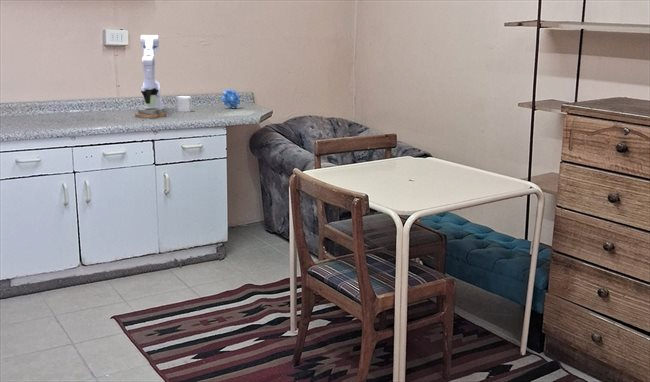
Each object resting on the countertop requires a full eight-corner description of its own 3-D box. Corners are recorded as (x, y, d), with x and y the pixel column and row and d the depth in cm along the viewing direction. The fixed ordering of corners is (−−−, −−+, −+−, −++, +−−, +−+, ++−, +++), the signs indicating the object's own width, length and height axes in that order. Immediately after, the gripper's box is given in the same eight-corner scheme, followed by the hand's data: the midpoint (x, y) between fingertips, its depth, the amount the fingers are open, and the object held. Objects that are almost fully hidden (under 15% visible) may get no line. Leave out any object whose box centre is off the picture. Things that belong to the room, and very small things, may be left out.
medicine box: (192, 111, 426) (191, 96, 424) (189, 112, 422) (189, 97, 420) (178, 110, 427) (178, 96, 425) (176, 111, 423) (176, 96, 421)
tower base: (149, 115, 409) (149, 111, 408) (166, 117, 404) (166, 113, 403) (135, 118, 399) (135, 113, 398) (152, 120, 393) (151, 115, 393)
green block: (149, 105, 402) (148, 94, 401) (156, 105, 401) (155, 94, 399) (144, 106, 398) (144, 95, 397) (151, 106, 397) (151, 95, 395)
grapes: (223, 109, 434) (223, 89, 431) (220, 108, 440) (220, 88, 437) (242, 108, 438) (242, 89, 435) (238, 107, 444) (238, 87, 441)
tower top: (150, 111, 407) (150, 107, 407) (164, 113, 403) (164, 108, 402) (138, 113, 399) (138, 109, 398) (152, 115, 394) (152, 110, 394)
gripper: (150, 76, 404) (151, 101, 407) (135, 78, 391) (136, 104, 394) (161, 77, 402) (162, 101, 405) (146, 79, 388) (147, 104, 392)
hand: (150, 103), depth 399 cm, fingers closed on green block, 4 cm apart
